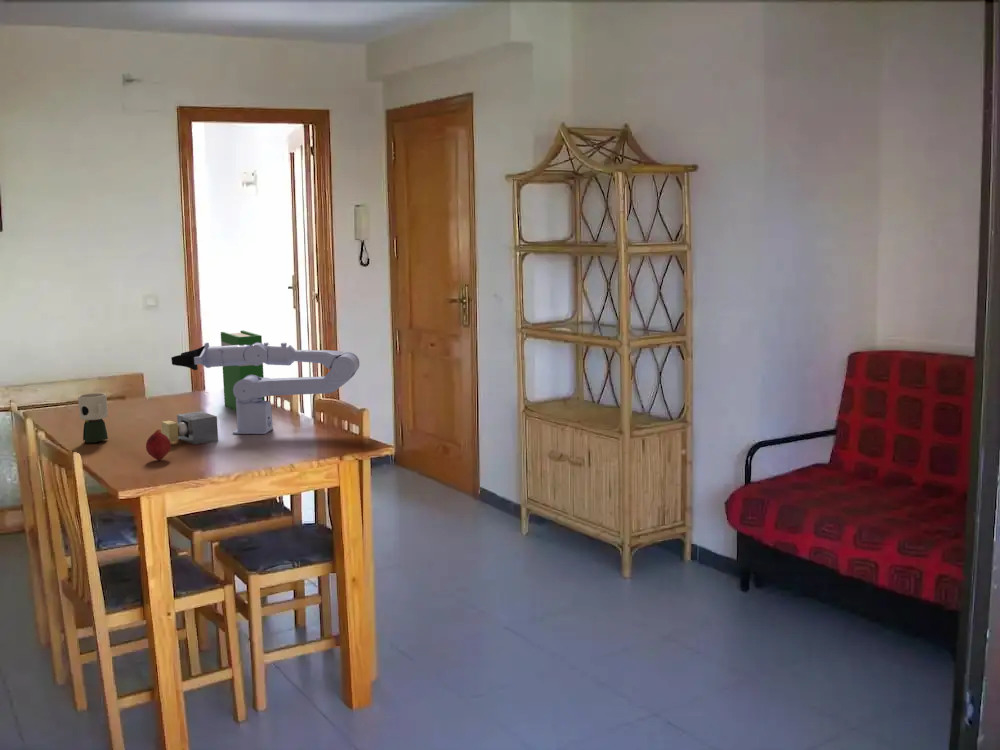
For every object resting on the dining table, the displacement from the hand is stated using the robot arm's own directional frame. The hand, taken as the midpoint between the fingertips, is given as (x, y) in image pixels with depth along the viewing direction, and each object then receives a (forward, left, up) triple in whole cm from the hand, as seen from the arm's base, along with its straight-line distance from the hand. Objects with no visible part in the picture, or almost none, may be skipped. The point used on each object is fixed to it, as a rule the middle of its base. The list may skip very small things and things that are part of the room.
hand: (176, 358), depth 275 cm
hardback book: (-6, -36, -21) cm, 42 cm away
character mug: (+19, +13, -21) cm, 31 cm away
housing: (-9, +10, -21) cm, 25 cm away
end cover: (-5, +13, -20) cm, 24 cm away
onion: (-8, +33, -21) cm, 40 cm away
